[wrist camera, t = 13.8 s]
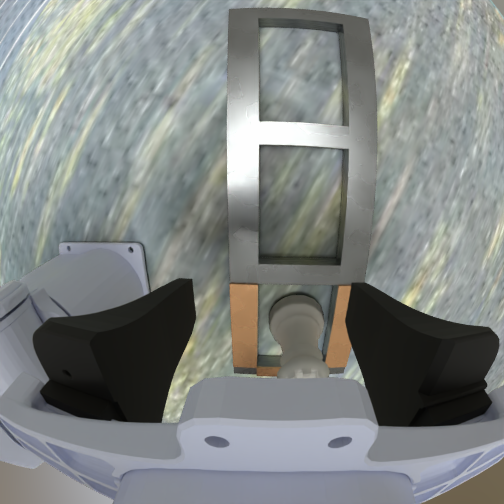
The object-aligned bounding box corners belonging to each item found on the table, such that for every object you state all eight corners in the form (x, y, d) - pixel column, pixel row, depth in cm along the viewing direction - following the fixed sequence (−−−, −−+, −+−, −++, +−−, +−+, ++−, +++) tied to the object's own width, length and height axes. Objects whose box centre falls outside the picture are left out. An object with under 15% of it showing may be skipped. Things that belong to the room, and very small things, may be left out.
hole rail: (236, 362, 24) (233, 374, 22) (231, 18, 14) (228, 8, 13) (340, 362, 23) (343, 374, 22) (362, 26, 14) (368, 17, 12)
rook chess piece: (306, 281, 21) (322, 347, 13) (331, 321, 22) (352, 390, 14) (257, 308, 22) (251, 380, 14) (286, 344, 23) (289, 416, 15)
